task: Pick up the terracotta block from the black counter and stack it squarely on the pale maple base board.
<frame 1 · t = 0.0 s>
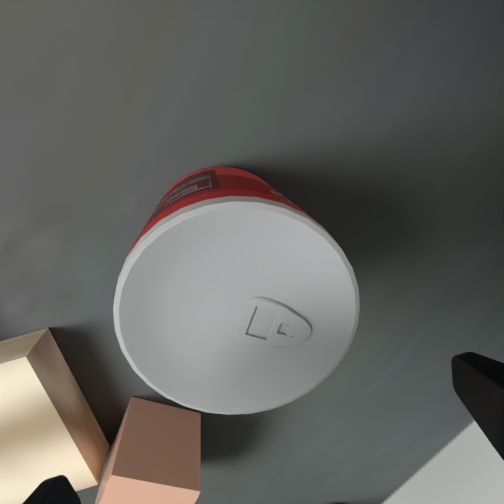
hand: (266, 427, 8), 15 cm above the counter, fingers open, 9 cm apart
block: (155, 431, 26), on the counter
base: (6, 412, 24), on the counter
canned food: (222, 228, 22), on the counter
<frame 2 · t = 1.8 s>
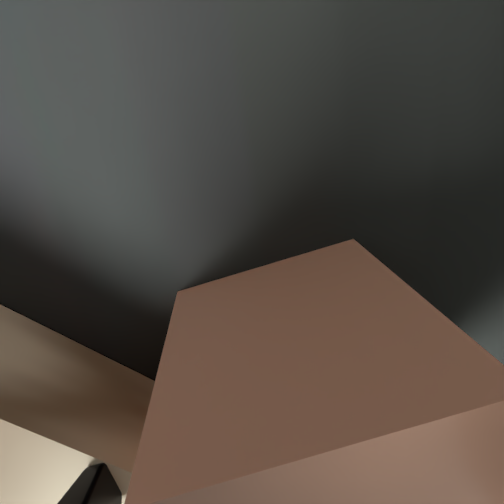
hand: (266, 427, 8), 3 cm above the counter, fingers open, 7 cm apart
block: (287, 339, 11), on the counter, touching gripper
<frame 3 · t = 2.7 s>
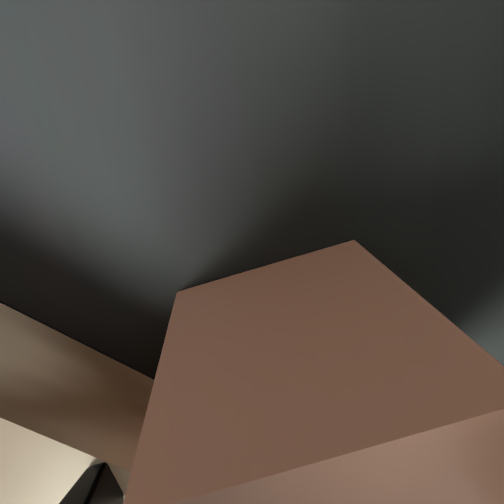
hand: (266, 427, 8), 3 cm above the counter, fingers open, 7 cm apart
block: (287, 341, 11), on the counter, touching base, gripper
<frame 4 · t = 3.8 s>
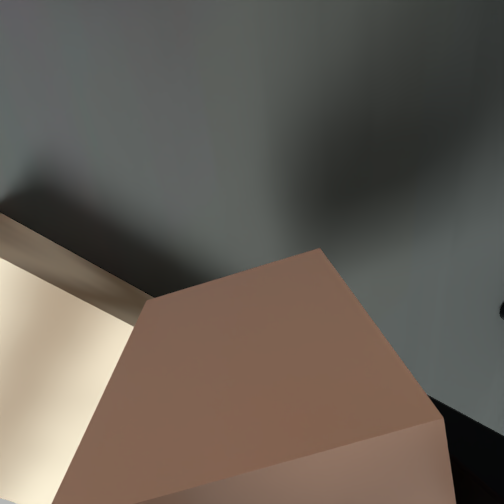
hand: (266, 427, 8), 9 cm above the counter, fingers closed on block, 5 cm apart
block: (257, 347, 11), point 6 cm above the counter, touching gripper
base: (51, 354, 17), on the counter
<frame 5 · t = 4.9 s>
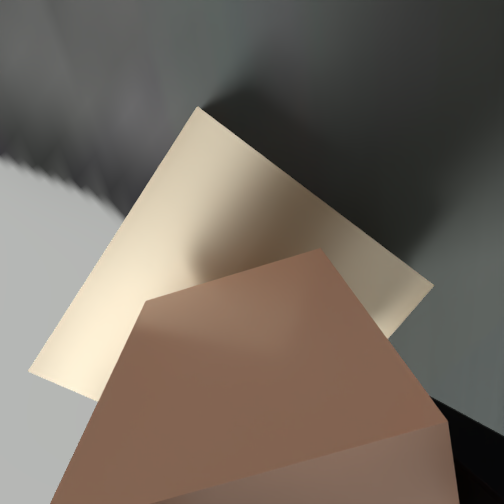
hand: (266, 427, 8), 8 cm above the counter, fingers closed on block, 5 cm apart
block: (258, 348, 11), point 5 cm above the counter, touching gripper
base: (232, 290, 15), on the counter
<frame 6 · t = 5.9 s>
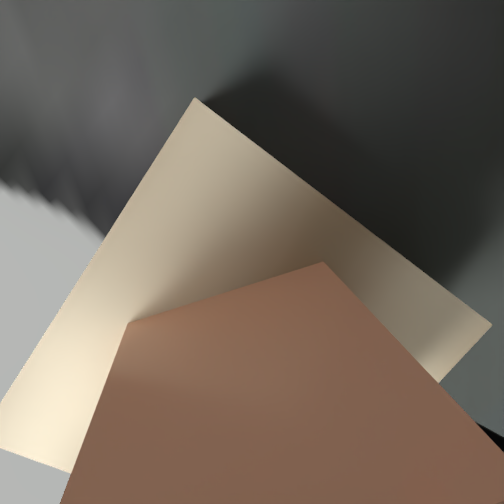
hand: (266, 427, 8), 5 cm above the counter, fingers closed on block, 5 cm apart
block: (253, 372, 10), point 3 cm above the counter, touching base, gripper
base: (238, 323, 12), on the counter
when the fingers open (5 cm above the counter, at t = 5.9 s): block stays where it is, resting on base.
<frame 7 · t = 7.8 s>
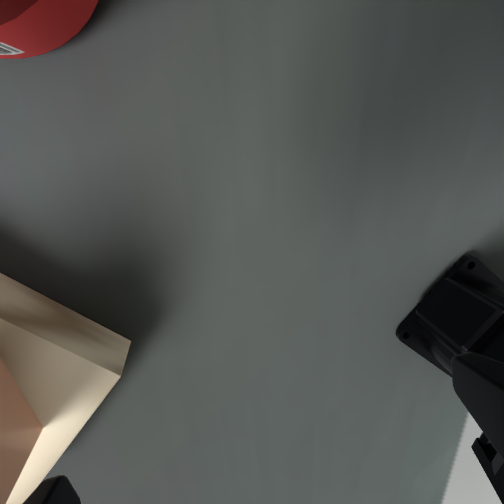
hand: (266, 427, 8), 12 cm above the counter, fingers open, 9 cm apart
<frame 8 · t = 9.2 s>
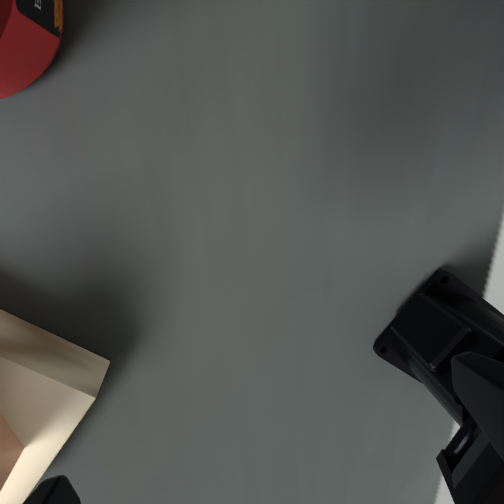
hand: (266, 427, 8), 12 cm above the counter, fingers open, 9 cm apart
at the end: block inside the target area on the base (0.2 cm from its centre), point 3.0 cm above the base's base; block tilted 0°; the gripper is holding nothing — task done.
